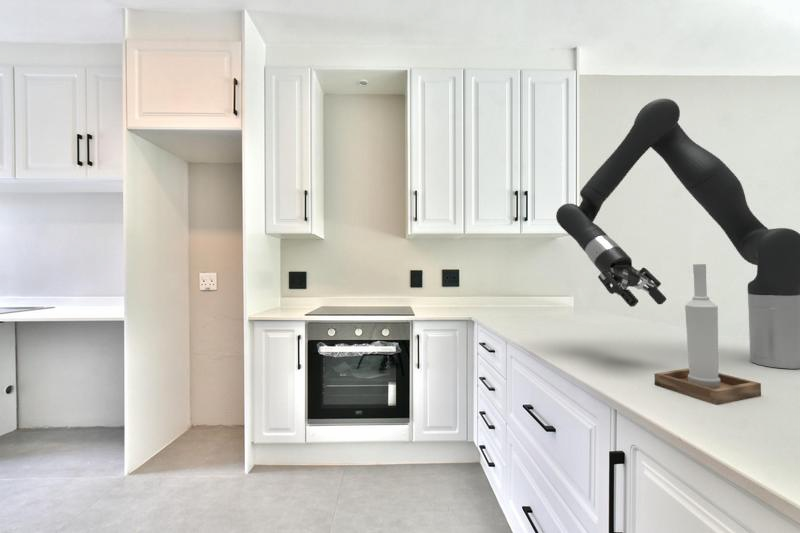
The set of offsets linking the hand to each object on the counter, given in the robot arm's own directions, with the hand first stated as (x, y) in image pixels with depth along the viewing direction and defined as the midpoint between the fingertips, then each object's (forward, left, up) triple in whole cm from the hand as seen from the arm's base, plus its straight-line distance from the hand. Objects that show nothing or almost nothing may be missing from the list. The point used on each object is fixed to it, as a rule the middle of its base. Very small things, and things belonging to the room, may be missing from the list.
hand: (649, 303), depth 85 cm
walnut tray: (0, +11, -17) cm, 20 cm away
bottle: (0, +11, -16) cm, 20 cm away
